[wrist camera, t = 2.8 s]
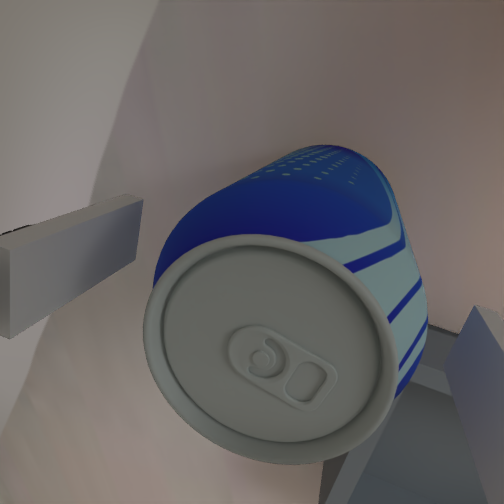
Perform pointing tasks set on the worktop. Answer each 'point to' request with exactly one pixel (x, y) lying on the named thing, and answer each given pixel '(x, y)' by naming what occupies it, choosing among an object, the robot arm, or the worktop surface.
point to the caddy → (411, 446)
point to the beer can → (288, 309)
